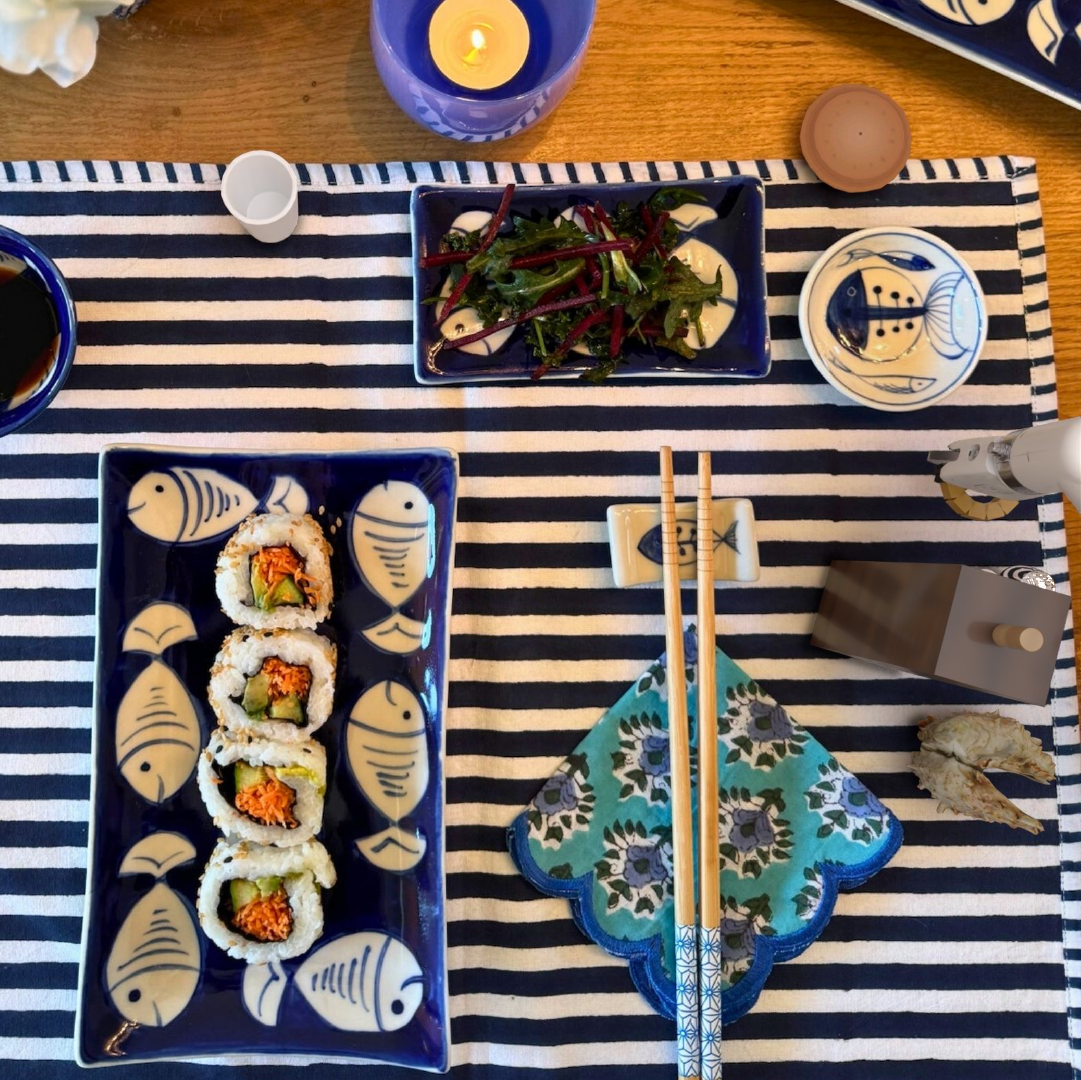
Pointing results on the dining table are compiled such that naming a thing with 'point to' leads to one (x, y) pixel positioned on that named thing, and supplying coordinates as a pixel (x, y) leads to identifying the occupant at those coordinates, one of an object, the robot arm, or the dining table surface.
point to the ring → (975, 504)
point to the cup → (262, 195)
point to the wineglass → (1028, 576)
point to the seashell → (978, 764)
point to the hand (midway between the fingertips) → (951, 474)
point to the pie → (855, 138)
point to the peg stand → (945, 625)
